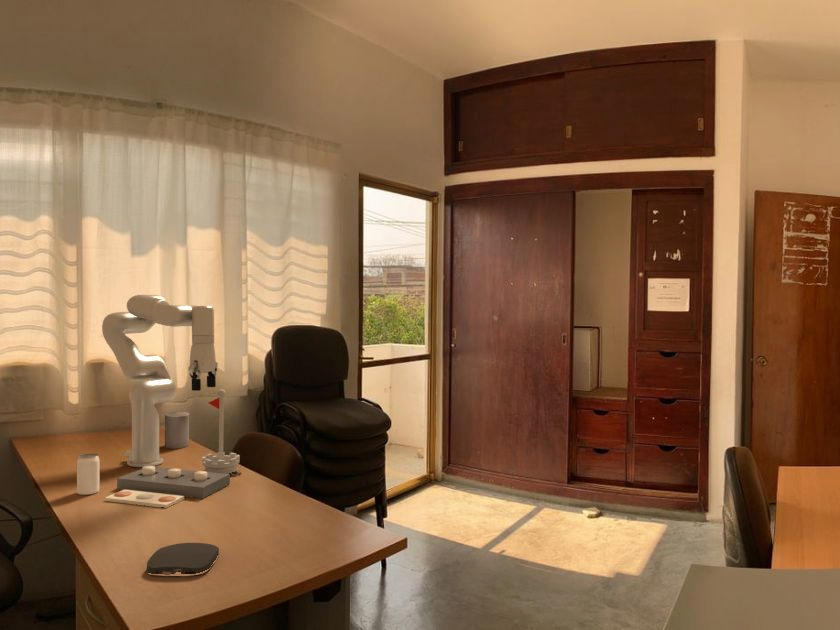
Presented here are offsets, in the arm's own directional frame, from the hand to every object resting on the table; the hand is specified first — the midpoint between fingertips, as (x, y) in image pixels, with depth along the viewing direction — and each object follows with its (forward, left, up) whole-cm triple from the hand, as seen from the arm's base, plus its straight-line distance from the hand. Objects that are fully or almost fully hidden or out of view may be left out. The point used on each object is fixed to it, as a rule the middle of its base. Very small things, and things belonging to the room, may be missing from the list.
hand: (203, 388), depth 232 cm
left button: (-11, -15, -29) cm, 34 cm away
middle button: (-1, -15, -29) cm, 32 cm away
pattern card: (-1, -30, -31) cm, 43 cm away
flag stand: (+3, +7, -31) cm, 32 cm away
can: (-23, -29, -31) cm, 48 cm away
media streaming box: (+39, -68, -32) cm, 84 cm away
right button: (+9, -15, -29) cm, 33 cm away
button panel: (-1, -15, -31) cm, 34 cm away
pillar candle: (-35, +35, -31) cm, 59 cm away
